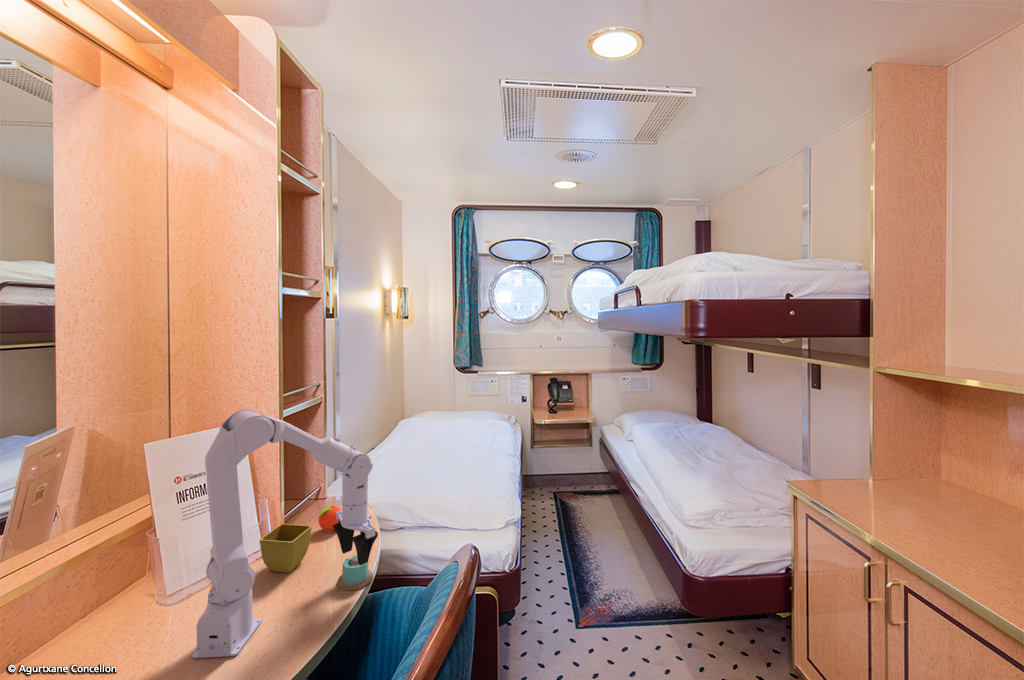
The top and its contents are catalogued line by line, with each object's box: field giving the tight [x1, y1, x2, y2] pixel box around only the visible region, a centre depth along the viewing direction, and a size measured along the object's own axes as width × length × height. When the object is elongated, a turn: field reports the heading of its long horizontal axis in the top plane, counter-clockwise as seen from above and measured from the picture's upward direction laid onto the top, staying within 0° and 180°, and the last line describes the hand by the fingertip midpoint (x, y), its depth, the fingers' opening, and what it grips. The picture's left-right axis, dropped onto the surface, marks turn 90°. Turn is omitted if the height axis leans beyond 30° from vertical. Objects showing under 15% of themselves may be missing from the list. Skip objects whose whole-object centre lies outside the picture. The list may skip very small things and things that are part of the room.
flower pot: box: [259, 523, 313, 573], centre depth 106 cm, size 9×9×9 cm
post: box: [337, 558, 374, 592], centre depth 101 cm, size 8×8×5 cm
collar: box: [342, 555, 369, 585], centre depth 101 cm, size 5×5×4 cm
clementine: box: [317, 505, 342, 532], centre depth 126 cm, size 8×7×7 cm
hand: (354, 557), depth 101 cm, fingers open, 7 cm apart
